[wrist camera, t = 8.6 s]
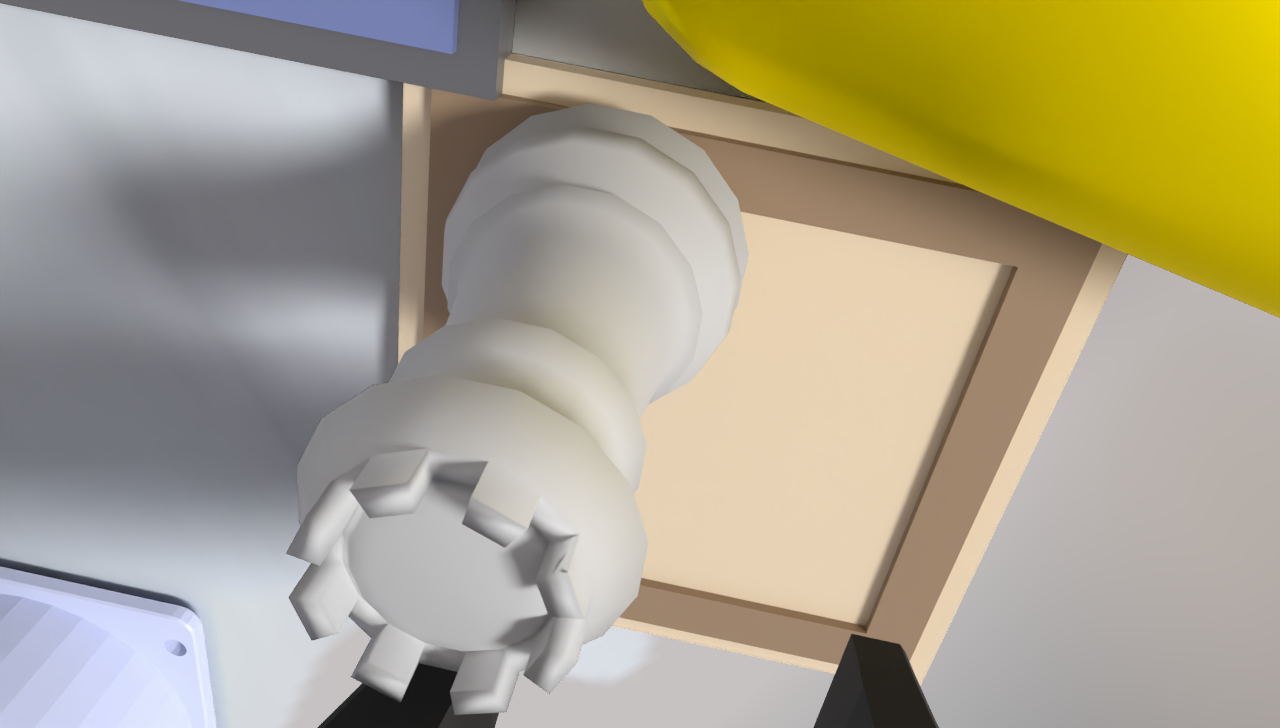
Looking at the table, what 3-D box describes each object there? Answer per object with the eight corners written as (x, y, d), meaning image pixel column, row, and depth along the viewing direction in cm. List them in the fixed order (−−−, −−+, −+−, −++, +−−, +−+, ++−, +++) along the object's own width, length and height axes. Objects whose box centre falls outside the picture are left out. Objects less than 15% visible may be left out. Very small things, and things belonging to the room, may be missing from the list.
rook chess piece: (411, 237, 15) (83, 582, 8) (591, 27, 13) (360, 247, 6) (617, 413, 16) (481, 849, 9) (812, 243, 14) (826, 638, 7)
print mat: (915, 676, 19) (919, 699, 19) (400, 565, 20) (390, 585, 19) (1150, 177, 14) (1164, 193, 13) (413, 33, 14) (399, 42, 13)
